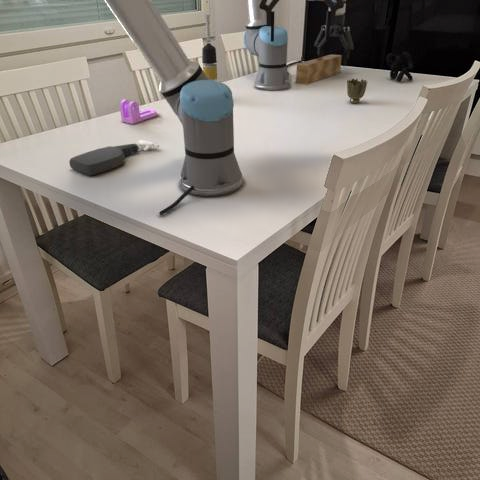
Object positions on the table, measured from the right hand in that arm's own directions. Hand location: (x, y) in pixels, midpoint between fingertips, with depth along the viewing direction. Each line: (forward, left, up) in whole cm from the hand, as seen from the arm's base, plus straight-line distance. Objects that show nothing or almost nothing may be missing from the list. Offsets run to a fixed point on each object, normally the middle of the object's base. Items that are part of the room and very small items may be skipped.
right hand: (332, 64), depth 214 cm
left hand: (+102, -37, +25) cm, 111 cm away
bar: (+8, -8, -4) cm, 12 cm away
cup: (+54, -5, -4) cm, 54 cm away
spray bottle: (+102, -86, -4) cm, 134 cm away
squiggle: (+20, +26, -4) cm, 33 cm away
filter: (+40, -59, -4) cm, 71 cm away
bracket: (+63, -84, -4) cm, 105 cm away
